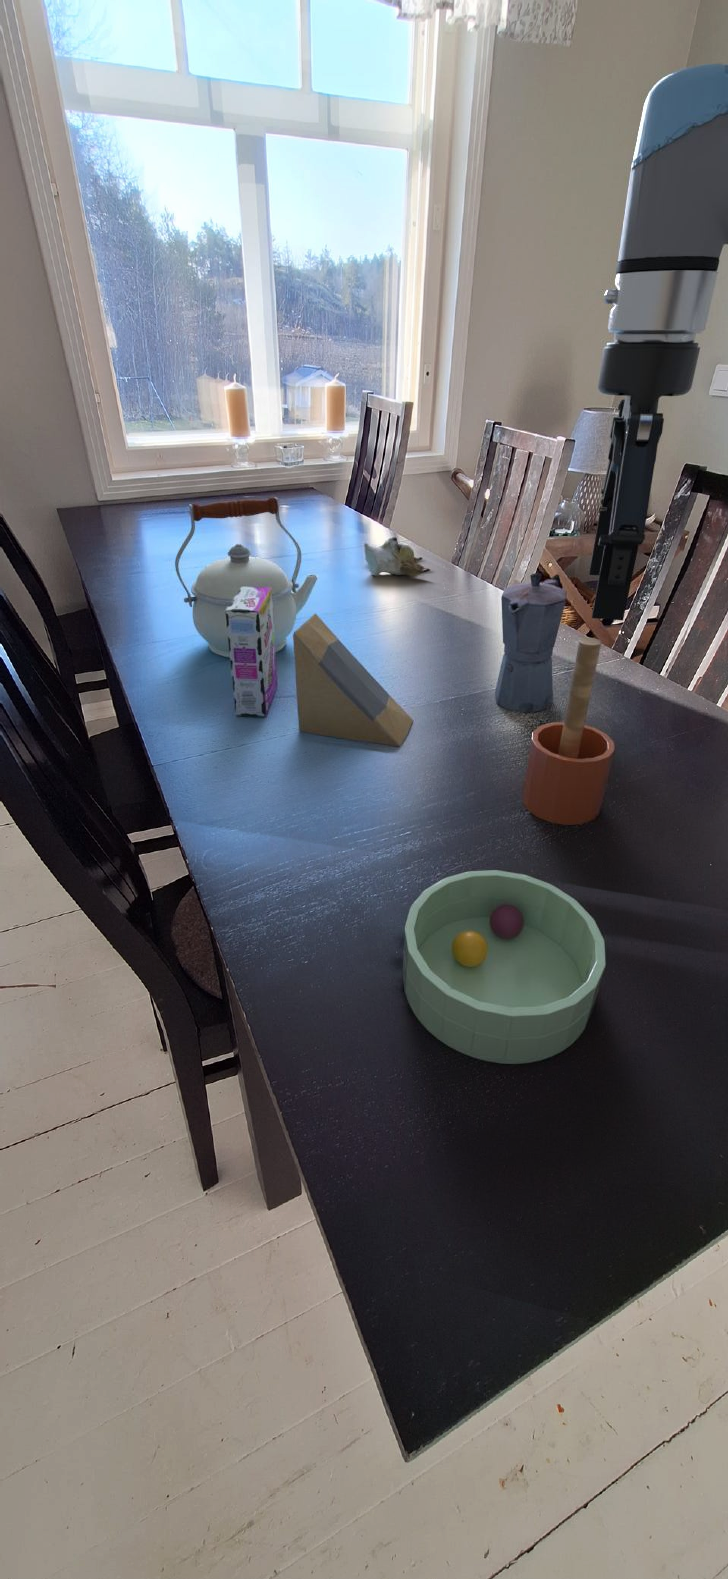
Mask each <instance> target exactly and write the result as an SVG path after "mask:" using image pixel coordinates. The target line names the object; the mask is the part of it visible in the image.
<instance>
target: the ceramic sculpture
mask: <svg viewBox="0 0 728 1579" xmlns="http://www.w3.org/2000/svg"><path fill="white" fill-rule="evenodd" d="M363 547H364V557H365V558H364V560H365V562H366V563H367V566H368V570H369V572H370V574H371V575H373V576H375V577H377V576H379V575H380V574H381V573H386V574H387V573H388V574H391V575H393V574H395V575H396V576H402V575H408V576H418V575H423V574H425V573H428V572H430V571H431V569H430V568H427V567H424V566H423V565H422V564H420V563H419V562H421V561H422V560H423V557H420V556H419V557H416V556H415V552H414V549H413V548H412V546H411V545H410V544H408V543H407V542H405V541H402V542H400V541H398V538H397V536H395V537H390V538H388V539H387V540H385V541H384V543H383V544H381V545H374V544H371V543H367V542H366V543H365V542H364V545H363ZM395 575H394V576H395Z"/></svg>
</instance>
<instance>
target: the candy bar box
mask: <svg viewBox="0 0 728 1579" xmlns="http://www.w3.org/2000/svg"><path fill="white" fill-rule="evenodd" d="M225 614H226V622H227V633H228V643H229V653H230V658H229V662H230V671H231V672H230V673H231V681H232V682H231V683H232V692H233V693H232V694H233V703H234V715H235V716H236V717H253V718H265V717H267V714H268V712H269V709H270V706H271V703H272V700H273V699H274V696H275V692H276V690H277V688H278V673H277V671H278V670H277V656H276V655H277V654H276V653H275V637H274V618H273V603H272V588H269V587H241V588H240V590H239V591H238V593H237V594H236V596H235V597H234V599H233V600H232V601H231V603H230V604H229V606H228V607H227V609H226V610H225Z"/></svg>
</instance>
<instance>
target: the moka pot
mask: <svg viewBox="0 0 728 1579" xmlns="http://www.w3.org/2000/svg"><path fill="white" fill-rule="evenodd" d="M541 580H542V574H541V573H537V572H533V573H531V574H530V582H527V581H526V582H521V583H517V584H512V585H508V586H505V587H504V588H503V591H502V594H501V597H500V598H501V599H500V600H501V623H502V624H501V625H502V626H501V628H502V629H501V630H502V644H504V645H503V655H502V660H501V663H500V668H499V673H498V677H497V681H496V685H495V690H494V699H495V702H496V703H497V704H498V705H499V706H501V707H502V708H504V709H507V710H510V711H513V712H517V713H518V712H519V713H535V712H540V711H542V710H546V709H547V708H548V707H549V706H550V705H551V704H552V703H553V700H554V688H553V686H554V685H553V658H552V656H553V651H554V647H555V644H556V642H557V636H558V633H559V629H560V626H561V621H562V618H563V613H564V610H565V606H566V602H567V595H568V594H567V593H568V591H567V590H566V589H563V588H564V586H563V583H562V582H561V578H560V575H559V573H558V574H554V575H553V576H552V577H551V578H546V579H545V580H544V581H543V582H541Z"/></svg>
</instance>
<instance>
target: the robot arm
mask: <svg viewBox="0 0 728 1579" xmlns="http://www.w3.org/2000/svg"><path fill="white" fill-rule="evenodd" d="M725 245H728V64H724V63H719V62H717V63H709V64H708V63H707V64H701V65H694V66H690V67H685V68H682V69H679V70H676V71H673V72H671V73H669V74H667V75H666V76H663V78H660V80H659V81H657V82H656V83H655V85H654V86H653V87H652V88H651V90H650V91H649V92H648V95H647V97H646V98H645V102H644V104H643V109H642V114H641V118H640V124H639V129H638V134H637V139H636V144H635V149H634V154H633V160H632V162H631V169H630V174H629V181H628V189H627V195H626V201H625V209H624V217H623V223H622V229H621V236H620V244H619V251H618V256H617V265H616V272H615V273H616V276H615V280H614V284H615V287H616V288H614V289H613V288H609V289H607V290H606V291H605V293H604V294H603V295H604V296H603V302H604V303H605V305H606V304H607V305H614V306H613V307H612V308H611V309H610V311H609V318H608V324H607V331H608V333H609V335H610V334H611V335H613V342H607V343H606V346H604V347H603V350H602V357H601V364H600V371H599V377H598V381H597V382H598V383H597V390H598V391H599V392H600V393H601V394H604V395H608V396H617V397H618V396H619V397H620V396H625V399H620V401H619V403H618V406H617V410H618V412H617V413H618V414H617V416H613V417H612V421H611V426H610V434H609V438H610V442H609V443H610V444H609V447H608V457H607V459H608V463H607V468H606V472H605V477H604V483H603V486H602V488H601V491H600V494H601V499H600V504H601V508H599V514H598V519H597V523H596V532H595V537H594V543H593V546H592V547H593V548H592V554H591V560H590V564H589V570H588V575H589V576H598V580H597V584H596V590H595V596H594V601H593V607H592V608H593V609H592V612H591V618H592V619H597V620H609V621H624V617H625V613H626V609H627V604H628V600H629V593H630V590H631V584H632V580H633V575H634V571H635V565H636V560H637V556H638V552H639V546H641V545H642V544H643V543H644V541H645V538H646V534H645V529H646V525H647V524H646V523H647V518H648V517H647V516H648V510H649V505H650V504H649V503H650V497H651V490H652V485H653V476H654V470H655V465H656V462H657V461H656V460H657V453H658V445H659V442H660V441H661V440H660V439H661V437H662V434H663V430H664V422H665V418H664V413H663V412H658V409H659V400H660V398H661V397H679V396H684V395H686V394H688V393H689V392H690V391H691V389H692V387H693V382H694V378H695V374H696V369H697V364H698V359H699V355H700V352H701V351H700V350H701V347H700V346H699V342H695V341H696V338H697V337H696V336H697V334H702V333H703V332H704V331H705V330H706V327H707V323H708V319H709V315H710V314H709V312H710V309H711V305H712V300H713V296H714V291H715V288H716V282H717V278H718V274H719V272H718V269H719V265H720V257H721V254H722V251H723V249H724V246H725Z"/></svg>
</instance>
